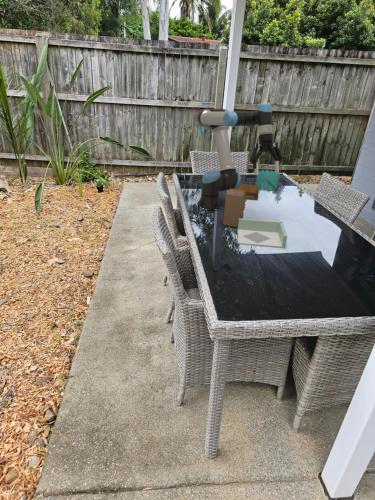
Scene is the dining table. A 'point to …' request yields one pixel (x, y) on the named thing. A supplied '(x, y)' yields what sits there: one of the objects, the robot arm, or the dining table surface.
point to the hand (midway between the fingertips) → (266, 174)
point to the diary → (249, 191)
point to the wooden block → (234, 207)
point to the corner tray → (261, 233)
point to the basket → (267, 180)
